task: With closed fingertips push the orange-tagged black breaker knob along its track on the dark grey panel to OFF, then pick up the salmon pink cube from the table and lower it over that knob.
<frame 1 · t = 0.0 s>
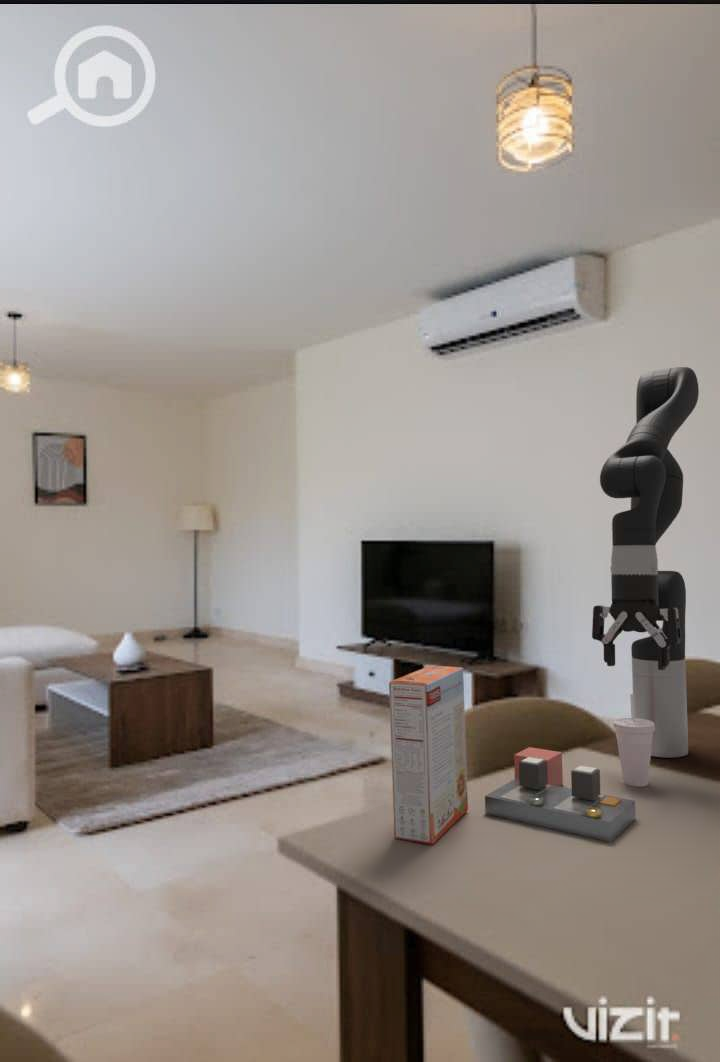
hand: (636, 667, 127), 17 cm above the table, tool pointing down, fingers open, 8 cm apart
cracker box: (431, 826, 102), on the table
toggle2: (533, 772, 110), point 5 cm above the table, slide at 0.0 cm
smoothie: (635, 784, 119), on the table
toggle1: (585, 782, 105), point 5 cm above the table, slide at 0.0 cm
panel: (559, 816, 105), on the table
salmon pink cube: (539, 785, 118), on the table
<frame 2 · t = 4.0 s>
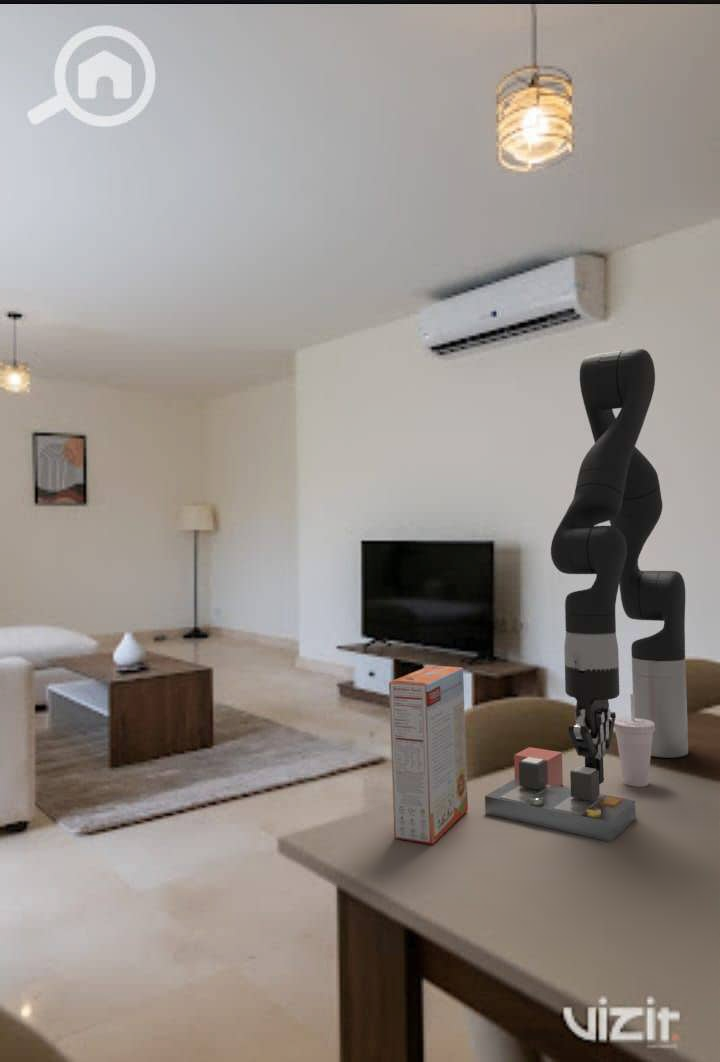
hand: (594, 783, 108), 4 cm above the table, tool pointing down, fingers closed
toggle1: (585, 782, 105), point 5 cm above the table, slide at 0.3 cm, touching gripper
everything else where it was.
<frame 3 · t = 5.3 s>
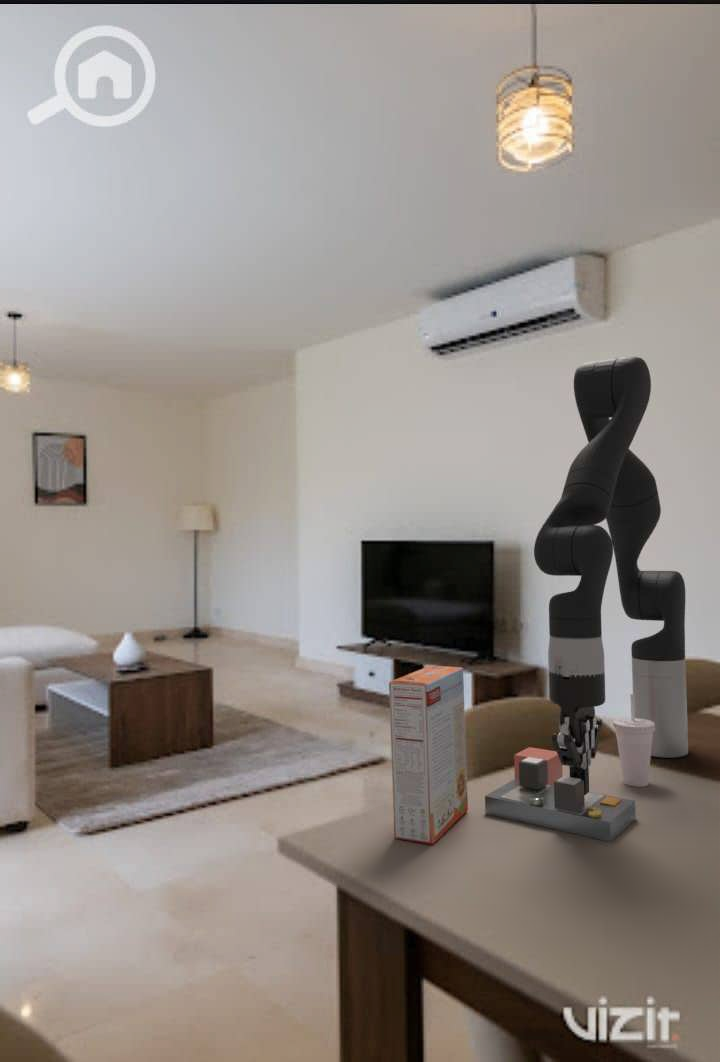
hand: (579, 793, 103), 4 cm above the table, tool pointing down, fingers closed
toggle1: (569, 793, 100), point 5 cm above the table, slide at 6.0 cm, touching gripper
everything else where it was.
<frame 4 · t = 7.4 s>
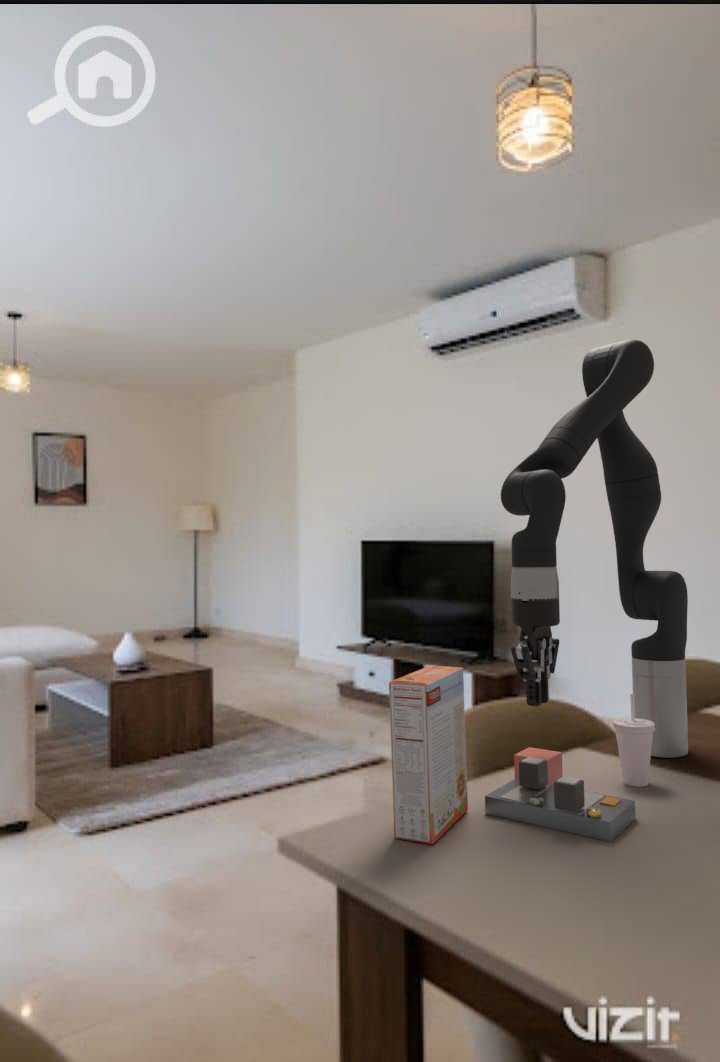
hand: (537, 703, 119), 13 cm above the table, tool pointing down, fingers closed
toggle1: (569, 793, 100), point 5 cm above the table, slide at 6.0 cm
everything else where it was.
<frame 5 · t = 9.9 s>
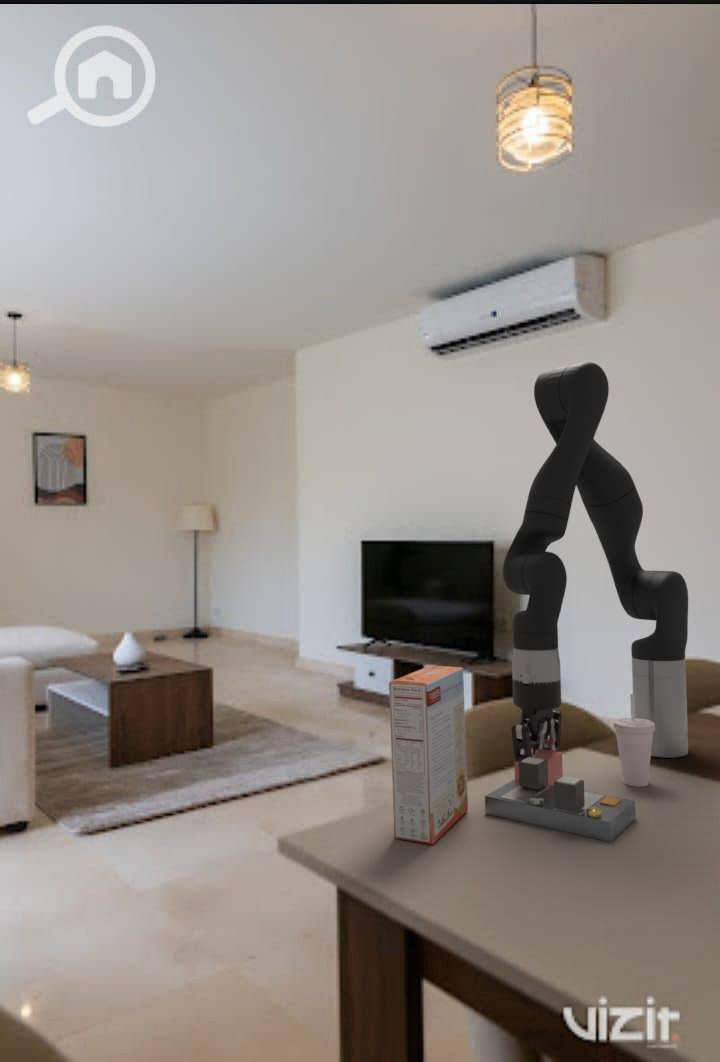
hand: (538, 782, 118), 1 cm above the table, tool pointing down, fingers closed on salmon pink cube, 5 cm apart
salmon pink cube: (539, 785, 118), on the table, touching gripper
everything else where it was.
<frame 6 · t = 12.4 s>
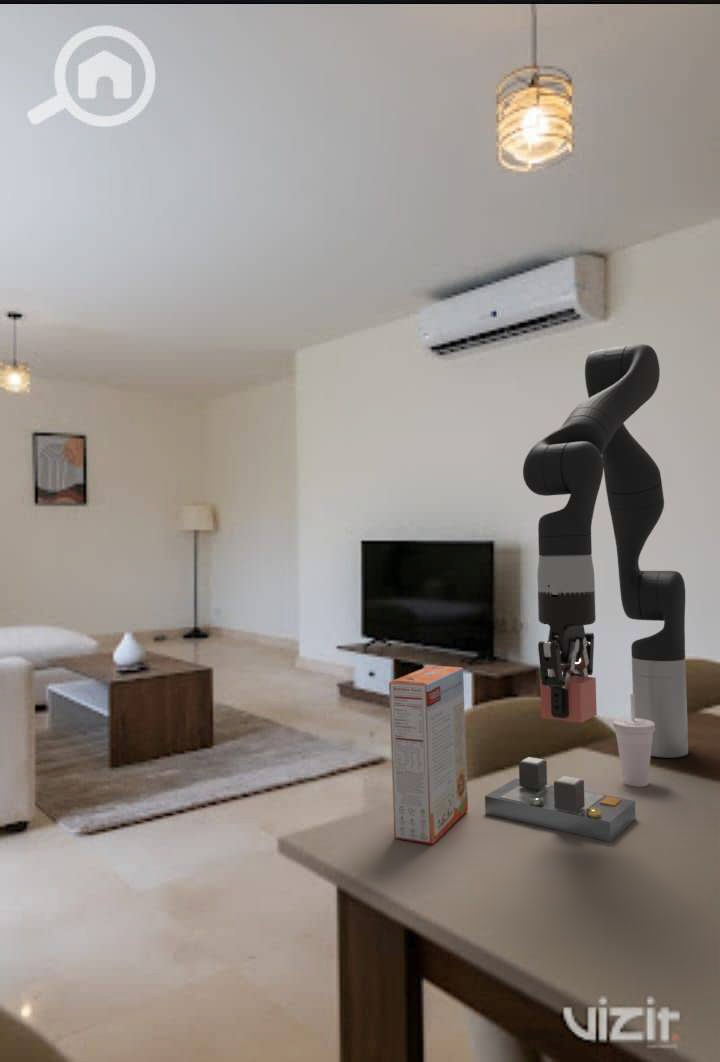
hand: (569, 712, 101), 15 cm above the table, tool pointing down, fingers closed on salmon pink cube, 5 cm apart
salmon pink cube: (569, 716, 101), point 15 cm above the table, touching gripper
everything else where it was.
when the fingers open (4 cm above the table, at t = 15.4 s): salmon pink cube moves 1 cm, resting on panel.
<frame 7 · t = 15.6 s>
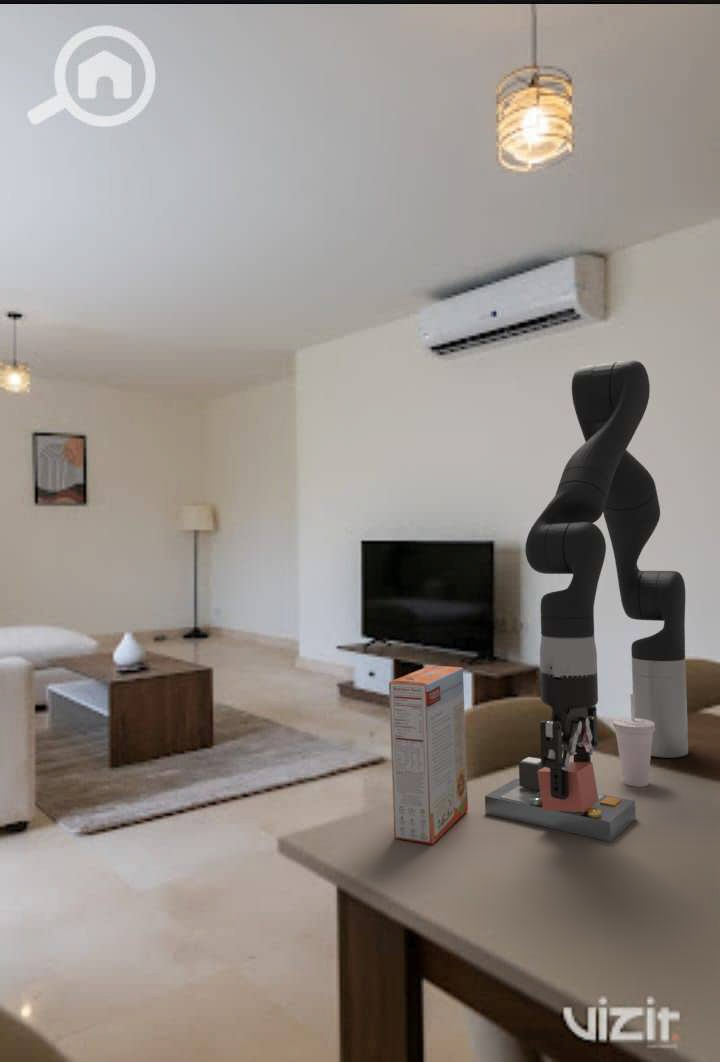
hand: (571, 789, 101), 5 cm above the table, tool pointing down, fingers open, 7 cm apart
salmon pink cube: (571, 805, 101), point 3 cm above the table, tilted 8°, touching panel
everything else where it was.
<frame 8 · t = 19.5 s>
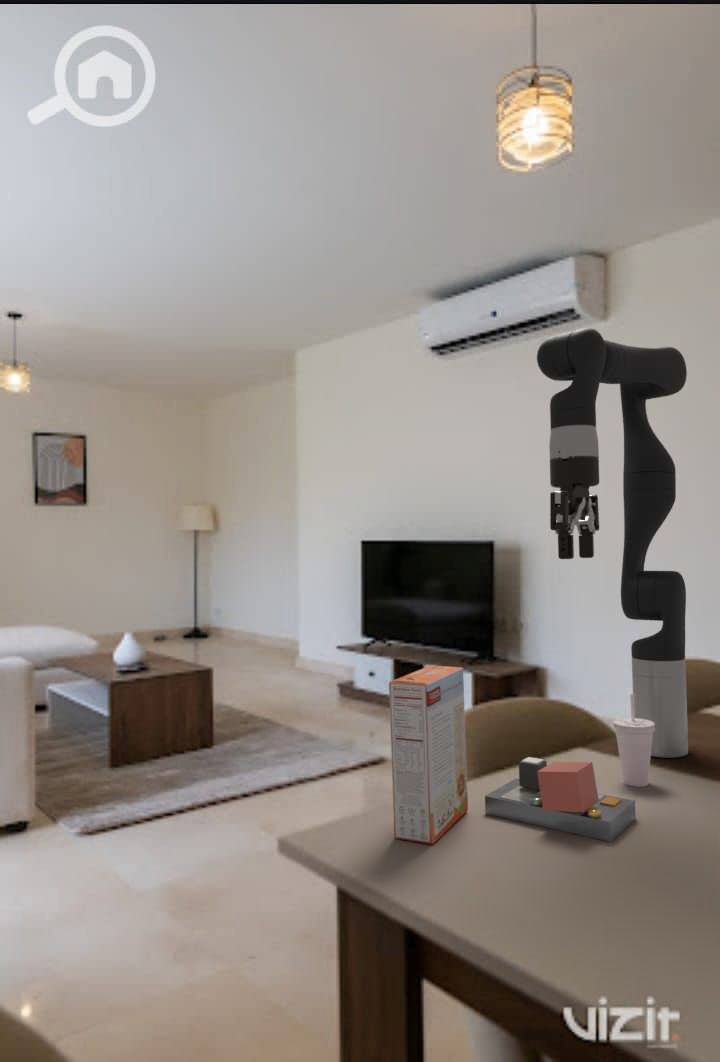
hand: (576, 558, 118), 36 cm above the table, tool pointing down, fingers open, 8 cm apart
nothing on the table moved.
at the end: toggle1 slide at 5.9 cm; salmon pink cube 0.5 cm from the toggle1 (horizontally); salmon pink cube point 2.9 cm above the table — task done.
